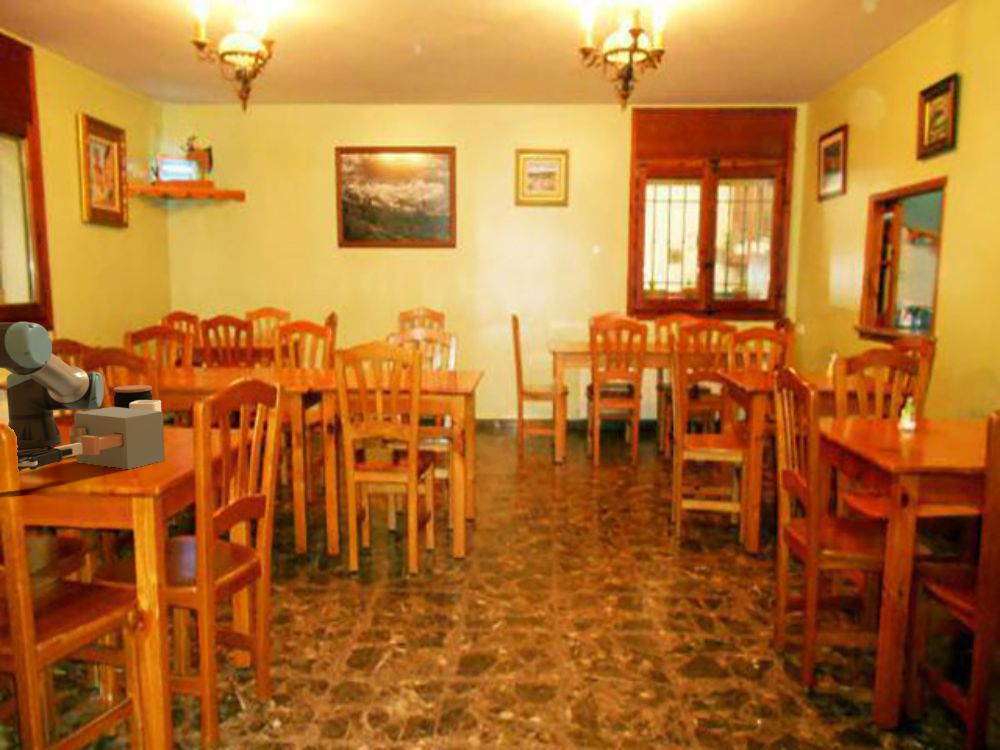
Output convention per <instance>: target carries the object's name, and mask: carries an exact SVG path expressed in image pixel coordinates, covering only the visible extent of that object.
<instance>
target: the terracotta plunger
mask: <svg viewBox="0 0 1000 750" xmlns="http://www.w3.org/2000/svg"><path fill="white" fill-rule="evenodd" d="M81 443H82V450H83V454H87V455H99V454H100V452H99V450H102V449H107V448H111V447H116V446H121V445H123V434H120V433H117V434H112V435H107V436H101V437H97V436H88V435H85V436H81Z"/></svg>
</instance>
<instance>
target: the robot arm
mask: <svg viewBox="0 0 1000 750" xmlns="http://www.w3.org/2000/svg"><path fill="white" fill-rule="evenodd" d="M52 352H53V343H52V339H51V337H50V336H49V332H48V331H47V329H46V328H45V327H43V326H42V325H41V324H39V323H35V322H28V321H18V322H0V369H5V370H6V371H8V372H10V373H9V374H8V375H7V377H6V382H5V383H6V388H5V390H6V400H7V410H8V411H7V413H8V423H7V427H8V426H9V427H10V428H11V429H13V430H14V432H15V434H16V436H17V445H18V449H19V451H16V452H17V456H18V469H19V471H18V472H20V471H23V470H25V469H29V470H31V471H32V470H36V469H38V468H41V467H45V466H48V465H51V464H54V463H61V461H63V459H64V458H68V457H74V456H77V455H79V454H83V450H82V443H74V444H70V443H69V444H66V445H60V446H56V447H53V446H54V445H57V444H60V443H62V433H61V432H60V430H59V428H58V425H57V423H56V420H55V418H54V411H77V410H80V411H83V410H84V411H89V410H95V409H100V407H101V406H102V403H103V399H104V389H105V388H104V386H105V385H104V378H103V376H102V374H101V373H100V372H96V371H91V372H90V371H89V372H87V371H85V370H84V369H82V368H80V367H78V366H76V365H69V364H67V363H65V362H64V361H63V360H62V359H60V358H59V357H58V356H56V355H55V354H54V353H52ZM46 447H47V448H46ZM18 449H17V450H18ZM22 449H24V450H22ZM25 449H26V450H25Z"/></svg>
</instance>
